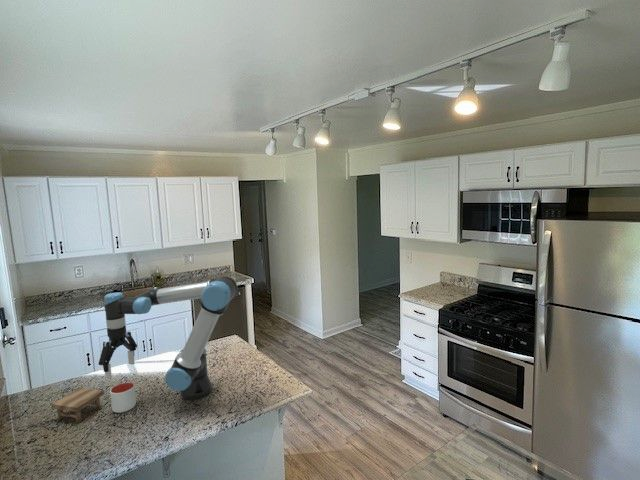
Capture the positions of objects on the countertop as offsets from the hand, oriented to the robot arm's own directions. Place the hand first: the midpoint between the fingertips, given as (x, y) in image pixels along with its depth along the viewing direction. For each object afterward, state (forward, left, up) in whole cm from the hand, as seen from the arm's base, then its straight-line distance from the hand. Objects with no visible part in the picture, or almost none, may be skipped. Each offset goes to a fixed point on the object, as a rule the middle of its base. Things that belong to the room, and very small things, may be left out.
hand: (120, 370), depth 163 cm
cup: (0, 0, -18) cm, 19 cm away
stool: (+17, +8, -18) cm, 26 cm away
